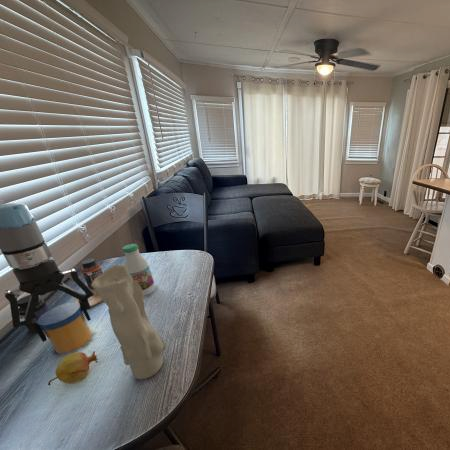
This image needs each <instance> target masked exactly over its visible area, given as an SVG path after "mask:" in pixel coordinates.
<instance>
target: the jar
mask: <svg viewBox="0 0 450 450" xmlns="http://www.w3.org/2000/svg"><path fill="white" fill-rule="evenodd" d="M87 322H88V321H87V319H86V317H85V315H84V313H82V314H81V315H80V316H79V317H78V318H77V319H75V320H74V321H73V322H71V323H69V324H67V325H65V326H63V327H60V328H57V329H54V330H43V332H44V334H45V335H46V338H47V339H48V340H49V343H50V344H51V346H52V348H53V349H54V351H55V352H56V353H57V354H67V353H71V352H73V351H76V350H78V349H79V348H81V347H83V346H84V345H85V344H86V343H88V342H89V340H90V339H91V338H92V336H93V333H92V331H91V328H90V326H89V325H88V323H87Z"/></svg>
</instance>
